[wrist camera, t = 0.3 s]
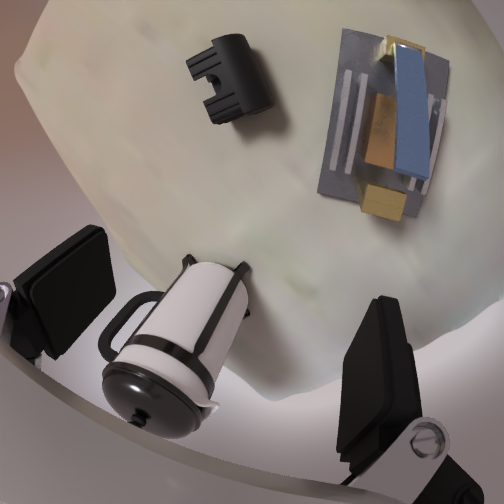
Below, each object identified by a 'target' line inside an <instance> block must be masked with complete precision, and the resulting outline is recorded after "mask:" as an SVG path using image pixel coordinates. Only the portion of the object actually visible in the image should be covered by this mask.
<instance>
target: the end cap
mask: <svg viewBox="0 0 504 504" xmlns="http://www.w3.org/2000/svg"><path fill="white" fill-rule="evenodd" d="M211 41H212V43H213V47H211V48H209V49H207V50H205V51H203V52H201V53H199V54H197V55H195V56H193V57H192V58H190V59H188V60H186V64H187V66H188V69H189V71H190V73H191V75H192V78H193V80H194V81H196V80H198V79H200V78H202V77H204V76H206V78H207V81H208V82H209V83H210V82H211V83H212V85H213V88H214V90H215V92H216V94H217V95H215V96H213V97H211V98H209V99H207V100H205V101H203V103H204V105H205V108H206V110H207V112H208V115H209V117H210V119H211V121H212V123H213V124H218V125H220V124H222V123H228V122H230V121H232V120H235V119H237V118H240V117H242V116H245V115H250V114H257V113H260V112H262V111H265V110H267V109H269V108H271V107H273V106H274V105H275V103H274V100H273V98H272V96H271V93H270V91H269V89H268V86H267V84H266V82H265V79H264V77H263V75H262V72H261V70H260V68H259V66H258V64H257V61H256V59H255V57H254V55H253V53H252V51H251V48H250V46H249V44H248V42H247V40H246V38H245V36H244V35H242V34H229V35H224V36H221V37H218V38H216V39H213V40H211Z"/></svg>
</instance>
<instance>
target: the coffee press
mask: <svg viewBox="0 0 504 504" xmlns="http://www.w3.org/2000/svg"><path fill="white" fill-rule="evenodd" d="M188 261H189V264H190V267H188V268H187V266H188ZM182 264H183V269H182V271H181V273H180V274H179V275H178V277H177V278H176V279H175V280H174V282H173V283H172V284H171V285H170V287H169V288H168V289H167V290H166V292H160V291H148V292H143V293H141V294H138V295H136V296H135V297H133V298H132V299H131V300H130V301H129V302H128V303H127V304H126V305H125V306H124V307H123V308H122V309H121V310H120V311H119V312H118V313H117V315H116V316H115V317H114V318H113V319H112V320H111V322H110V323H109V324H108V325H107V327H106V328H105V329H104V330H103V332H102V333H101V335H100V337H99V340H98V349H99V351H100V353H101V355H102V357H103V358H104V359H105V360H106V361H108V362H109V364H108V365H107V366H106V367H105V368H104V370H103V372H102V376H103V382H102V389H103V393H104V395H105V397H106V400H107V401H108V403H109V404H110V405H111V407H112V408H113V409H114V410H115V411H116V412H117V413H118V414H119V415H120V416H121V417H122V418H124V419H125V420H126V421H128V423H130V424H132V425H134V426H136V427H138V428H140V429H143V430H145V431H147V432H149V433H152V434H154V435H156V436H158V437H162V438H167V439H178V438H183V437H185V436H187V435H189V434H190V433H191V432H193V431H196V430H197V429H198V428H199V427H200V425H201V423H202V421H204V420H205V419H207V418H208V417H209V416H210V415H211V414H213V413H214V412H215V411H216V410H217V409H218V408H219V406H220V404H219V403H218V402H214V401H211V400H210V398H211V396H212V393H213V391H214V387H215V385H214V384H215V382H216V380H217V377H218V375H219V373H220V370H221V368H222V366H223V364H224V361H225V359H226V357H227V354H228V352H229V350H230V347H231V345H232V342H233V340H234V338H235V335H236V333H237V331H238V328H239V326H240V324H241V321H242V320H243V319H245V318H247V317H248V316H250V312H249V310H248V309H247V305H248V294H247V290H246V288H245V286H244V284H243V282H242V281H241V278H242V277H243V276H244V274H245V273H246V272H247V271H248V270H249V268H250V267H249V266H248V265H247V264H246V263H245V262H244V261H243V262H242V263H240V264H239V265H238V266H237V268H236V269H235V270H234V271H231V270H230V269H228V268H226V267H224V266H222V265H220V264H216V263H212V262H201V263H196V264H195V260H194V257H193V256H192V255H190V254H188V255H186V256H185V257H184V258H183V259H182ZM186 268H187V269H186ZM185 269H186V270H185ZM181 274H182V275H181ZM151 301H156V302H157V303H156V304H155V305H154V307H153V308H152V309H151V311H150V312H149V313H148V314H147V315H146V317H145V318H144V319H143V321H142V322H141V323H140V324H139V326H138V327H137V328H136V330H135V331H134V332H133V334H132V335H131V336H130V338H129V339H128V341H126V343H125V344H124V346H123V347H122V348H121V350H120V352H119V353H118V352H117V351H114V350H113V349H111V341H112V339H113V338H114V337H115V335H116V334H117V333H118V332H119V330H120V329H121V328H122V327H123V325H124V324H125V323H126V322H127V321H128V319H129V318H130V317H131V316H132V314H133V313H134V312H135V311H136V310H137V309H138V308H139V307H140V306H141V305H143V304H144V303H147V302H151ZM243 316H244V317H243Z"/></svg>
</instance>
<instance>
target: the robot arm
mask: <svg viewBox="0 0 504 504" xmlns="http://www.w3.org/2000/svg"><path fill="white" fill-rule="evenodd" d="M13 282H14V285H15V287H16V290H15V291H14V292H13V289H12V286H11V285H10V284H9V283H7V282H0V504H484V494H483V491H482V489H481V487H480V486H479V485H478V484H477V483H476V482H475V481H474V480H473V479H472V478H471V477H470V476H469V475H468V474H467V473H466V472H465V471H464V470H463V469H462V468H461V467H460V466H459V465H458V464H457V463H456V462H455V461H454V460H453V459H452V458H451V457H450V456H449V455H448V454H447V453H448V450H449V447H450V439H449V434H448V432H447V430H446V428H445V427H444V426H443V425H442V424H441V423H440V422H439V421H437V420H436V419H434V418H430V417H423V416H422V408H421V399H420V392H419V384H418V378H417V372H416V366H415V360H414V355H413V349H412V346H411V345H410V344H409V343H407V338H406V333H405V328H404V324H403V319H402V314H401V310H400V306H399V302H398V299H396V298H391V297H387V296H382V295H381V296H379V297H378V299H373V300H372V301H371V303H370V305H369V308H368V310H367V312H366V314H365V316H364V318H363V321H362V323H361V325H360V327H359V329H358V331H357V333H356V335H355V337H354V339H353V341H352V343H351V345H350V347H349V349H348V351H347V353H346V355H345V357H344V361H343V374H342V391H341V405H340V416H339V427H338V437H337V446H336V451H337V453H341V457H340V462H350V467H349V471H350V472H351V473H350V474H349V475H348V476H347V477H345V478H344V479H343V480H342V481H341V482H340V483H338V484H331V483H325V482H319V481H313V480H307V479H301V478H296V477H290V476H285V475H280V474H275V473H271V472H267V471H262V470H258V469H255V468H250V467H247V466H243V465H239V464H236V463H232V462H228V461H225V460H222V459H218V458H215V457H212V456H209V455H206V454H203V453H200V452H197V451H194V450H192V449H189V448H186V447H183V446H181V445H178V444H175V443H173V442H170V441H168V440H166V439H163V438H161V437H158V436H156V435H154V434H152V433H149V432H147V431H145V430H143V429H140V428H138V427H136V426H134V425H132V424H130V423H128V422H126V421H124V420H122V419H120V418H118V417H116V416H114V415H112V414H110V413H108V412H106V411H105V410H103V409H101V408H99V407H97V406H95V405H94V404H92V403H90V402H89V401H87V400H85V399H84V398H82V397H80V396H78V395H77V394H75V393H74V392H72V391H71V390H69V389H67V388H66V387H64V386H63V385H61V384H60V383H58V382H57V381H55V380H54V379H52V378H51V377H49V376H48V375H46V374H45V373H44V372H42V371H41V355H42V354H41V352H42V351H43V350H44V351H45V353H46V354H47V355H48V356H49V357H51V358H52V359H54V360H57V359H58V357H59V356H60V355H63V354H64V353H65V352H66V351H67V350H68V349H69V348H70V347H71V345H72V344H73V343H74V342H75V341H76V340H77V338H78V337H79V336H80V335H81V333H83V332H84V331H85V329H86V328H87V327H88V326H89V325H90V324H91V323H92V322H93V320H94V319H95V318H96V317H97V316H98V315H99V314H100V313H101V312H102V311H103V309H104V308H105V307H106V306H107V305H108V304H109V303H110V302H111V301H112V300H113V299H114V297H115V295H116V287H115V281H114V276H113V270H112V264H111V258H110V252H109V245H108V237H107V234H106V233H105V230H104V229H103V228H102V227H98V226H95V225H87V226H86V227H84V228H83V229H81V230H80V231H78V232H77V233H75V234H74V235H72V236H71V237H70V238H68V239H67V240H65V241H64V242H63V243H61V244H60V245H58V246H57V247H56V248H54V249H53V250H51V251H50V252H49V253H47V254H46V255H45V256H43V257H42V258H41V259H39V260H38V261H37V262H35V263H34V264H33V265H32V266H30V267H29V268H28V269H27V270H25V271H24V272H23V273H22V274H20V275H19V276H18V277H17V278H15V279H14V280H13Z"/></svg>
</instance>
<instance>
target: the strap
mask: <svg viewBox="0 0 504 504" xmlns="http://www.w3.org/2000/svg"><path fill="white" fill-rule="evenodd" d="M393 49H394V63H395V91H396V119H395V148H394V164H393V171H394V172H398V173H401V174H404V175H408V176H411V177H414V178H418V179H421V180H424V181H426V180H427V179H428V178H429V171H430V135H429V113H428V99H427V88H426V79H425V71H424V64H423V57H422V50H421V49H418V48H415V47H413V46H410V45H407V44H403V43H400V42H397V41H394V44H393Z"/></svg>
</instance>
